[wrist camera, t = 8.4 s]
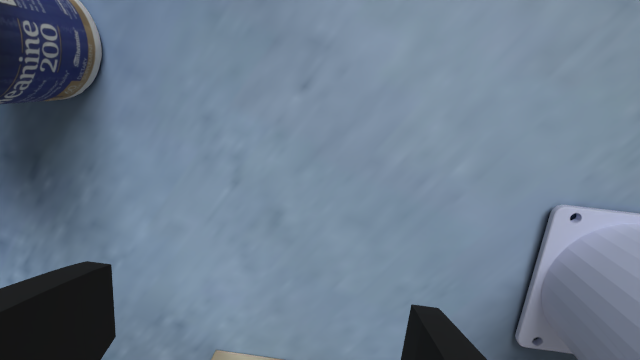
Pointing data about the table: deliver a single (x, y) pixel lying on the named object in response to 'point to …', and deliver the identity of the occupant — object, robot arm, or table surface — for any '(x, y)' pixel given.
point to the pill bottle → (46, 50)
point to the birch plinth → (237, 356)
